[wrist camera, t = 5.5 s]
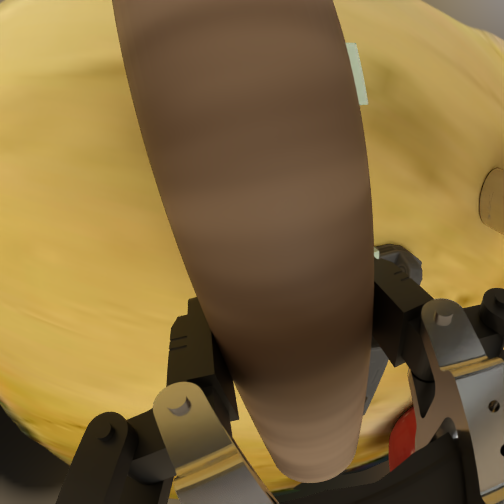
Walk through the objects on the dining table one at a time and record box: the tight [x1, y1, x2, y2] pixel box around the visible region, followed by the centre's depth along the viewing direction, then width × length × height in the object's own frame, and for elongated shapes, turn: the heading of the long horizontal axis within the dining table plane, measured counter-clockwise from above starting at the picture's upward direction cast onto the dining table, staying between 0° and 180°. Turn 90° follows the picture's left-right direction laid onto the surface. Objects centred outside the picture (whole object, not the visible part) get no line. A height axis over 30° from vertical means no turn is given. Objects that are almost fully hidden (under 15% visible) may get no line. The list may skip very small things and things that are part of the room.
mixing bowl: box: [389, 406, 417, 472], centre depth 49 cm, size 28×28×16 cm
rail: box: [112, 0, 374, 483], centre depth 9 cm, size 20×5×5 cm, turn 13°
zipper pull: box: [363, 244, 422, 415], centre depth 32 cm, size 9×7×25 cm
